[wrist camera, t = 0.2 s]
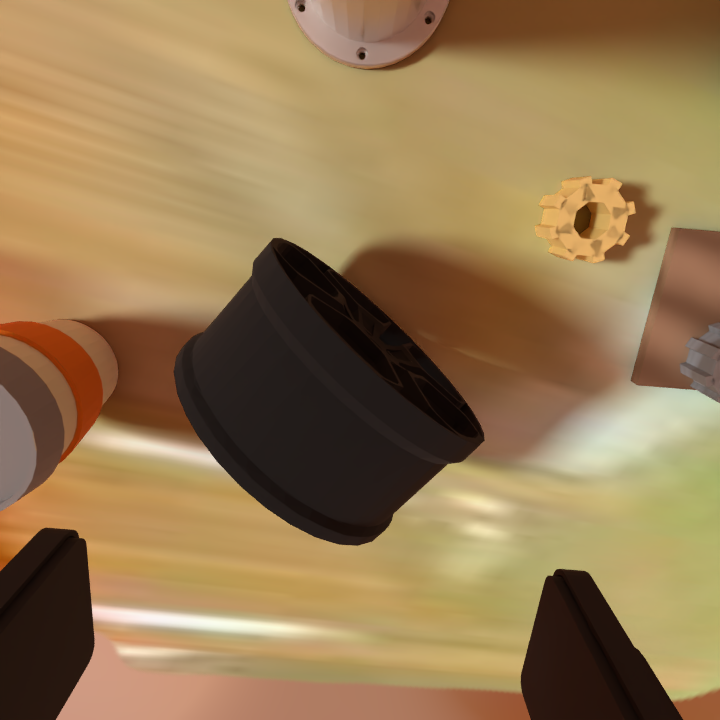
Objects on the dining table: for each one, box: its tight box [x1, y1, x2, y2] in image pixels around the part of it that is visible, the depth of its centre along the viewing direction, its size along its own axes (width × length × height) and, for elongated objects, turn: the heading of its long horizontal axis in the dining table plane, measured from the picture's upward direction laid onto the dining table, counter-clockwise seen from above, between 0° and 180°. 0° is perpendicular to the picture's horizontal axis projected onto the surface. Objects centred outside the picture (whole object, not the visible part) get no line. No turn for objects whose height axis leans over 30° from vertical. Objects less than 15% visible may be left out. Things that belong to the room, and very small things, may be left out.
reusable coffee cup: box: [0, 319, 118, 511], centre depth 40 cm, size 12×12×15 cm
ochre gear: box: [535, 176, 635, 263], centre depth 41 cm, size 6×6×4 cm
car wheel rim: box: [174, 238, 485, 546], centre depth 37 cm, size 20×10×20 cm, turn 48°
